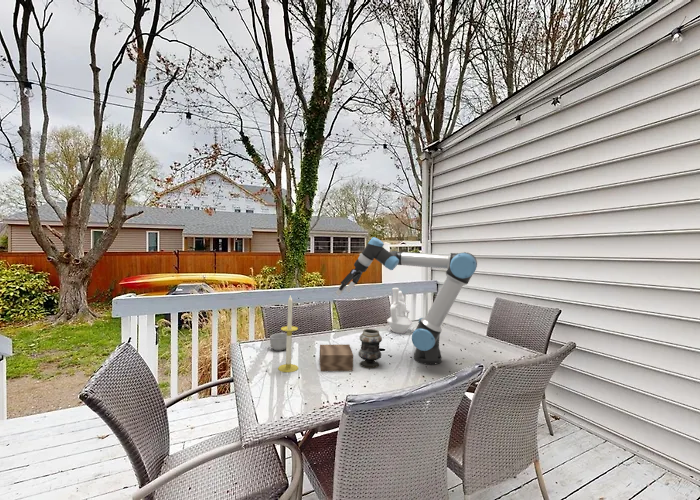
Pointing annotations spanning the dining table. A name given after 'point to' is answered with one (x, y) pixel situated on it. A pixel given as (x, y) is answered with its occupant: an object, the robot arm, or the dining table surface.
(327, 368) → the walnut stand
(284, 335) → the teacup
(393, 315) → the white tall piece
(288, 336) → the rod with yellow discs
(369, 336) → the apothecary jar
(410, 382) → the dining table surface
